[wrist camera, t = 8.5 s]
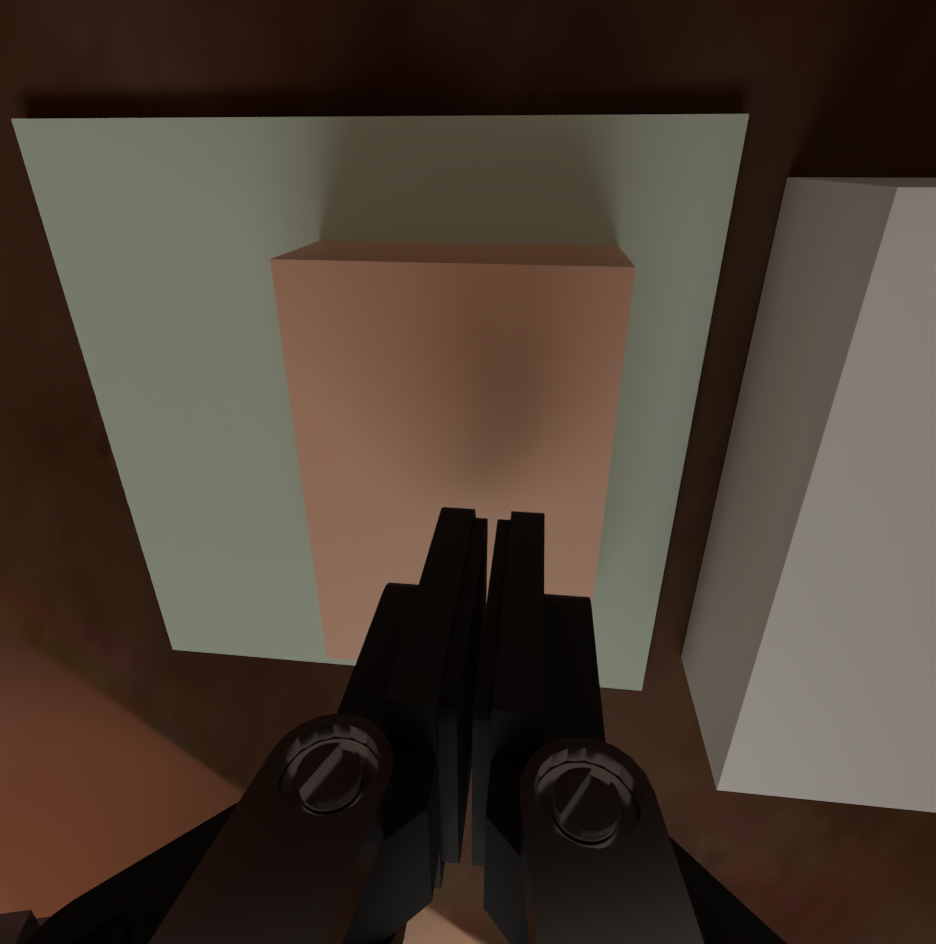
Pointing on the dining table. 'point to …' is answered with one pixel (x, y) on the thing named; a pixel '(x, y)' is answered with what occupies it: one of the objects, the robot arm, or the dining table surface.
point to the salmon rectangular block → (448, 404)
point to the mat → (259, 340)
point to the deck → (829, 513)
